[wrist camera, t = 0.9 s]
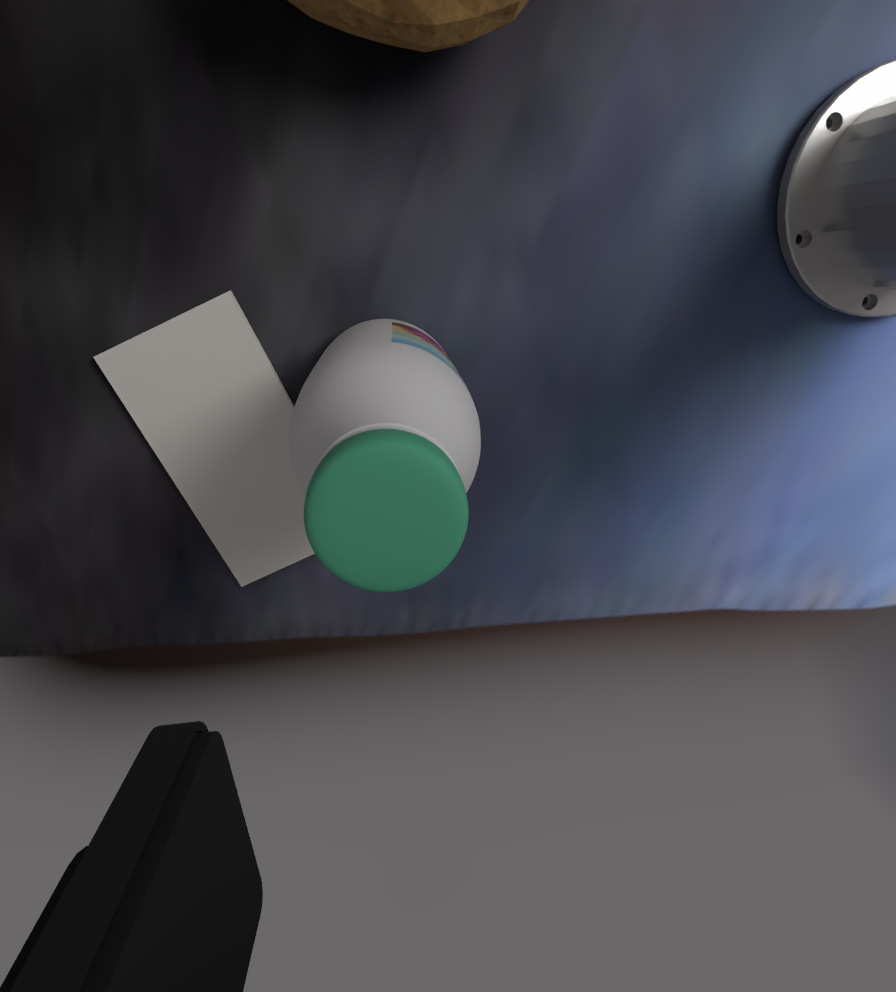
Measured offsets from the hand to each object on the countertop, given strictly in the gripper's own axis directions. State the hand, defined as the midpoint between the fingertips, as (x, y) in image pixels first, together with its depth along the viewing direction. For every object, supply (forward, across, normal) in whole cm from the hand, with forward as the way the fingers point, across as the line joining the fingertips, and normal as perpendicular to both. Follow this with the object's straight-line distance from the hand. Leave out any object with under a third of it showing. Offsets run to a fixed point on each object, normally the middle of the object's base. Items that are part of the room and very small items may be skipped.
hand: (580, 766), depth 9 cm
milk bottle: (+30, +4, 0) cm, 30 cm away
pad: (+29, +12, +3) cm, 32 cm away
